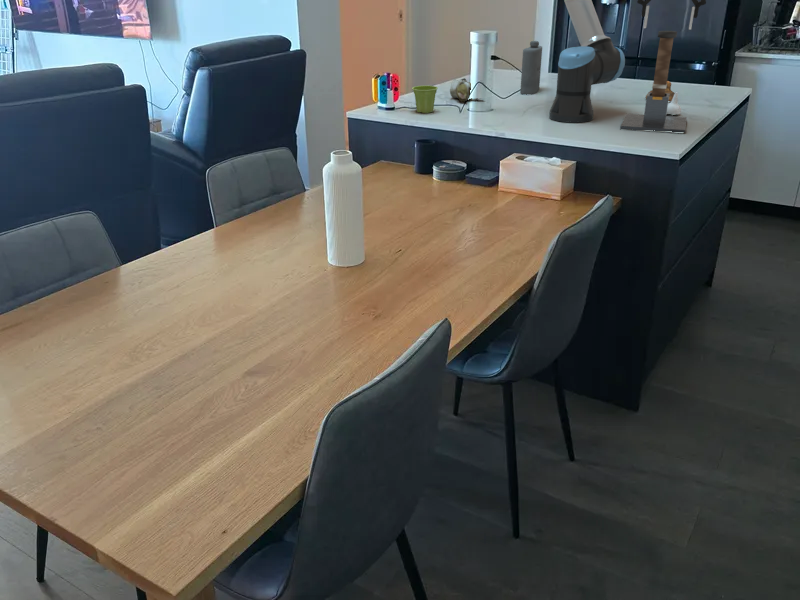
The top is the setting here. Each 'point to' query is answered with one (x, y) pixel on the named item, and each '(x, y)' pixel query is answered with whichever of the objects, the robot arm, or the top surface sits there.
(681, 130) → the sleeve stand
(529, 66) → the flask
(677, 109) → the garlic bulb
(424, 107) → the plant pot
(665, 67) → the post
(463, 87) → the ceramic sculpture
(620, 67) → the robot arm
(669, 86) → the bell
